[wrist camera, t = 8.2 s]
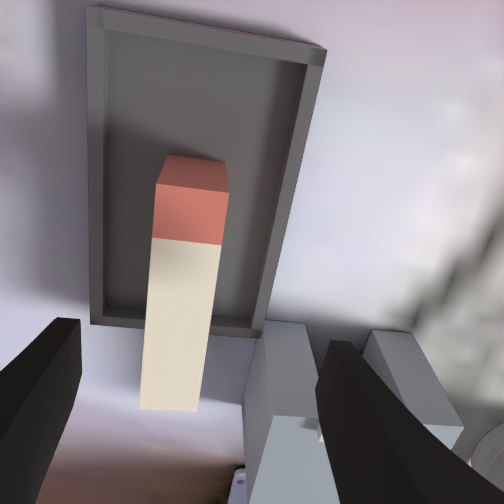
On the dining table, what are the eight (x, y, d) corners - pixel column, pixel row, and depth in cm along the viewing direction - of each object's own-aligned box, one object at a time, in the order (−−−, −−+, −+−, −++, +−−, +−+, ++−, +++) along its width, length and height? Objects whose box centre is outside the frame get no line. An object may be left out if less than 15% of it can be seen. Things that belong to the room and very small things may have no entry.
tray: (258, 320, 25) (260, 338, 24) (96, 306, 24) (90, 324, 23) (319, 45, 18) (327, 49, 17) (96, 4, 17) (85, 6, 16)
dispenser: (376, 414, 30) (416, 524, 24) (241, 406, 29) (248, 520, 22) (412, 333, 26) (470, 438, 20) (261, 319, 25) (275, 426, 19)
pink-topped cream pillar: (199, 349, 24) (197, 412, 20) (151, 345, 23) (138, 408, 19) (225, 162, 20) (229, 192, 16) (167, 154, 19) (156, 183, 15)
